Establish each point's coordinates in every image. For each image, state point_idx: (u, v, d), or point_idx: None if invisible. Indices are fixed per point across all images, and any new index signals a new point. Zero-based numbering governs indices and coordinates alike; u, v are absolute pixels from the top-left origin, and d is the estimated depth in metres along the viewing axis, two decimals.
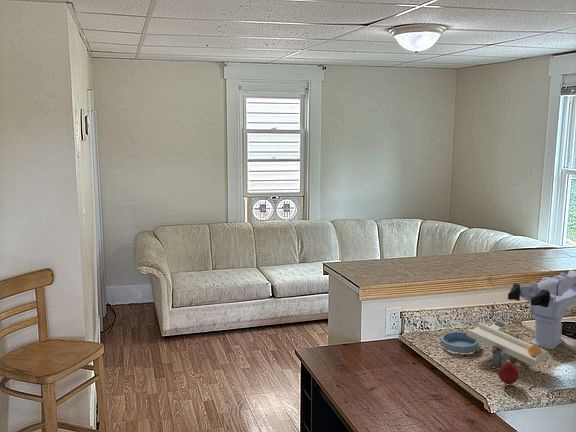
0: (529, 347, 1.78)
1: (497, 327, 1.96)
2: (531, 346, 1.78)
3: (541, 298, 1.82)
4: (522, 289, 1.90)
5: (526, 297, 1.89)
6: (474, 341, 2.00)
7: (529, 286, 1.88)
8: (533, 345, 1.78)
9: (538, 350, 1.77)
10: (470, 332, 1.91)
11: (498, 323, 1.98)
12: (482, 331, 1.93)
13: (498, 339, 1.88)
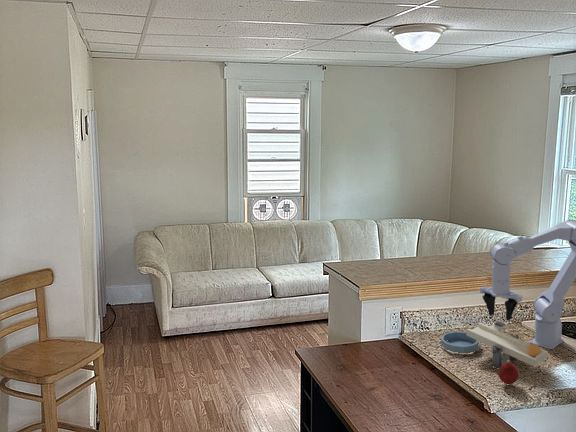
0: (529, 347, 1.78)
1: (497, 327, 1.96)
2: (531, 346, 1.78)
3: None
4: None
5: None
6: (474, 341, 2.00)
7: None
8: (533, 345, 1.78)
9: (538, 350, 1.77)
10: (470, 332, 1.91)
11: (498, 323, 1.98)
12: (482, 331, 1.93)
13: (498, 339, 1.88)
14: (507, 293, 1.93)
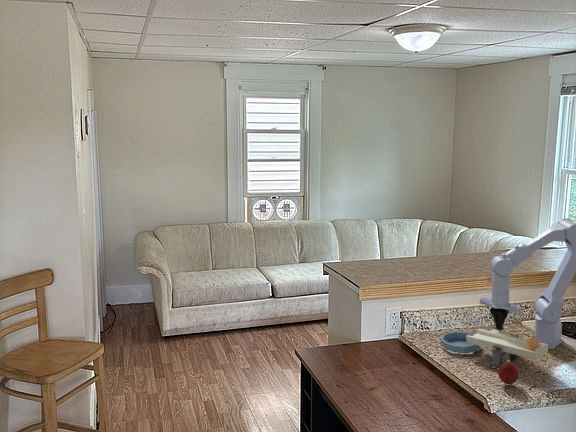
0: (527, 341, 1.78)
1: (497, 331, 1.96)
2: (529, 340, 1.78)
3: None
4: None
5: None
6: None
7: None
8: (530, 339, 1.78)
9: (536, 343, 1.77)
10: (469, 338, 1.91)
11: None
12: (482, 336, 1.93)
13: (498, 341, 1.88)
14: (506, 305, 1.94)
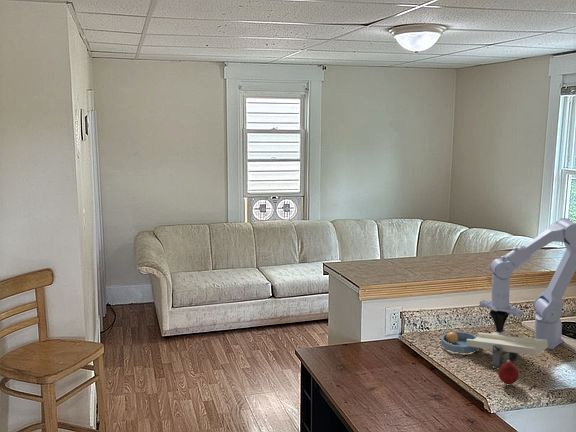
0: (452, 342, 2.00)
1: (497, 333, 1.96)
2: None
3: None
4: None
5: None
6: None
7: None
8: None
9: None
10: (470, 341, 1.91)
11: None
12: (482, 339, 1.93)
13: (498, 342, 1.88)
14: (507, 307, 1.94)
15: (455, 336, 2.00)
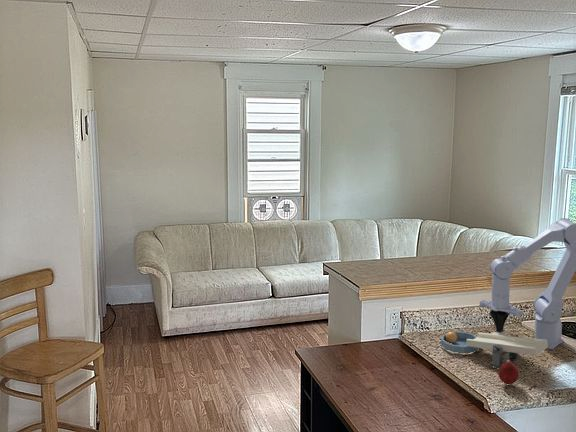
0: (452, 341, 2.00)
1: (497, 333, 1.96)
2: (451, 342, 2.01)
3: None
4: None
5: None
6: None
7: None
8: None
9: None
10: (470, 341, 1.91)
11: None
12: (482, 339, 1.93)
13: (498, 342, 1.88)
14: (507, 307, 1.94)
15: (454, 335, 2.00)
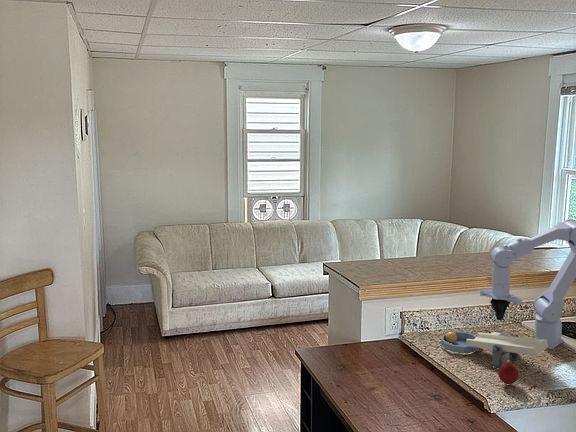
0: (452, 341, 2.00)
1: (497, 333, 1.96)
2: (451, 342, 2.01)
3: None
4: None
5: None
6: None
7: None
8: None
9: None
10: (470, 341, 1.91)
11: (498, 330, 1.99)
12: (482, 339, 1.93)
13: (498, 342, 1.88)
14: (507, 296, 1.93)
15: (453, 335, 2.00)
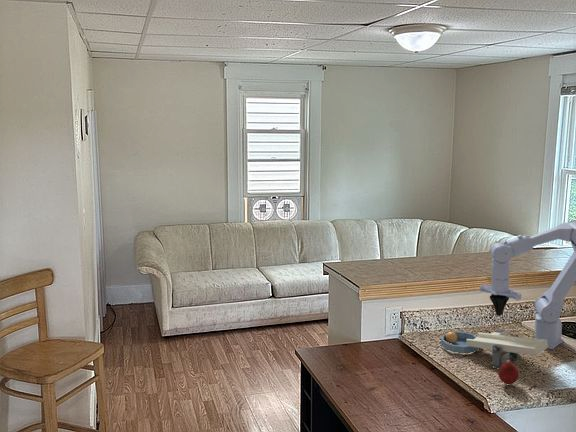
0: (452, 341, 2.00)
1: (497, 333, 1.96)
2: (451, 342, 2.01)
3: None
4: None
5: None
6: None
7: None
8: None
9: None
10: (470, 341, 1.91)
11: (498, 330, 1.99)
12: (482, 339, 1.93)
13: (498, 342, 1.88)
14: (506, 291, 1.95)
15: (454, 335, 2.00)
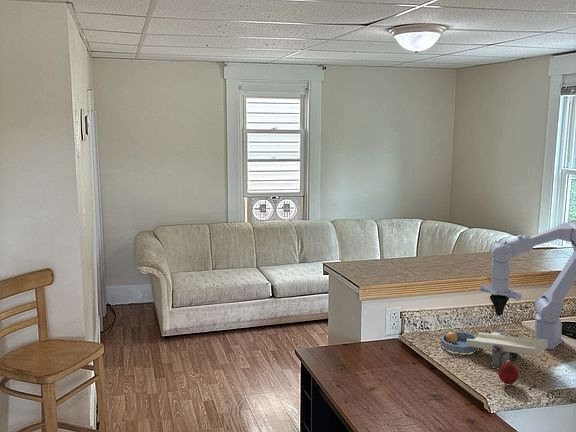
0: (452, 341, 2.00)
1: (497, 333, 1.96)
2: (451, 342, 2.01)
3: None
4: None
5: None
6: None
7: None
8: None
9: None
10: (470, 341, 1.91)
11: (498, 330, 1.99)
12: (482, 339, 1.93)
13: (498, 342, 1.88)
14: (506, 291, 1.95)
15: (454, 335, 2.00)
